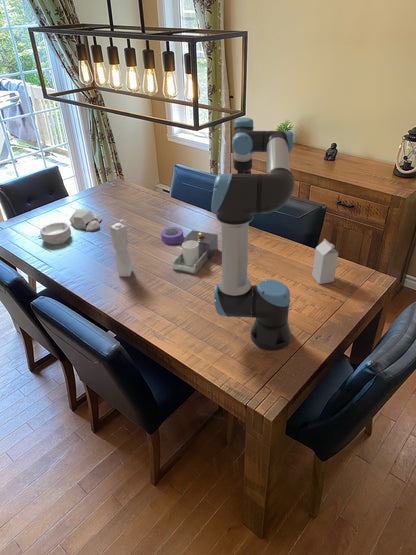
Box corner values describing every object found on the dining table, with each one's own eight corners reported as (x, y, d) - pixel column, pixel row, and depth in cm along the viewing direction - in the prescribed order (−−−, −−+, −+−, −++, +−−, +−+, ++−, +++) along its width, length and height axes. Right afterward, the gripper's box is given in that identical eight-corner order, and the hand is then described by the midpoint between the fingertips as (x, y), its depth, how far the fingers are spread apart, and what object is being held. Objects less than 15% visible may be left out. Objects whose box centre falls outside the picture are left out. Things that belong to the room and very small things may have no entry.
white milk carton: (319, 284, 186) (324, 247, 175) (311, 276, 191) (316, 239, 181) (333, 282, 187) (339, 244, 177) (325, 273, 193) (331, 237, 182)
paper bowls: (38, 241, 227) (35, 228, 223) (64, 232, 235) (61, 219, 231) (50, 251, 218) (47, 237, 213) (77, 241, 226) (74, 228, 221)
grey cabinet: (197, 275, 194) (196, 255, 188) (171, 269, 199) (169, 249, 193) (218, 249, 214) (217, 230, 208) (193, 245, 219) (192, 226, 212)
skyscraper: (136, 269, 201) (128, 216, 185) (133, 279, 194) (124, 224, 179) (118, 269, 201) (109, 216, 186) (115, 279, 194) (105, 224, 179)
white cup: (190, 256, 207) (189, 238, 201) (202, 261, 203) (202, 243, 197) (179, 263, 202) (178, 245, 196) (192, 268, 198) (190, 250, 192)
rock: (101, 217, 250) (99, 202, 245) (104, 232, 234) (101, 216, 229) (70, 221, 246) (66, 206, 241) (70, 237, 230) (67, 221, 225)
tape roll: (171, 247, 217) (171, 239, 215) (157, 240, 224) (156, 232, 221) (188, 239, 224) (187, 231, 222) (173, 232, 231) (172, 224, 228)
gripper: (241, 169, 158) (240, 220, 169) (261, 150, 177) (259, 197, 188) (223, 167, 160) (223, 218, 172) (244, 149, 179) (243, 195, 191)
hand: (242, 207), depth 180 cm, fingers open, 13 cm apart
